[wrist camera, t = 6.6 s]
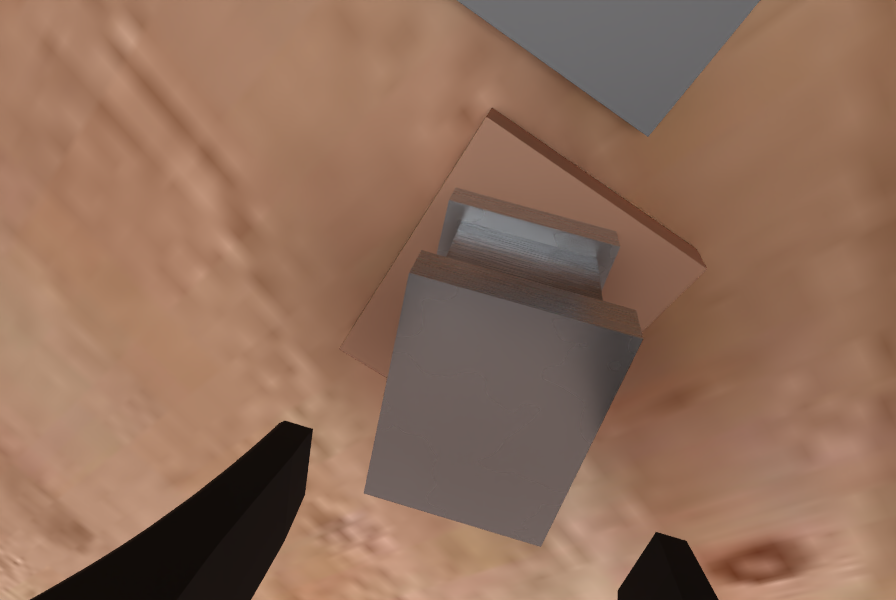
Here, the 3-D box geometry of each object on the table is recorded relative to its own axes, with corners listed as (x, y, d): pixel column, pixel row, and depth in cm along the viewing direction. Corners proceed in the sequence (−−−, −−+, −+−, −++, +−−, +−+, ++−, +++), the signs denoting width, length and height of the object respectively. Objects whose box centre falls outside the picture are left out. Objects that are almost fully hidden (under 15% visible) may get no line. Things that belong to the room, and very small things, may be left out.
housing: (616, 231, 16) (643, 338, 11) (545, 404, 20) (540, 546, 15) (455, 187, 16) (408, 272, 11) (414, 366, 20) (363, 493, 15)
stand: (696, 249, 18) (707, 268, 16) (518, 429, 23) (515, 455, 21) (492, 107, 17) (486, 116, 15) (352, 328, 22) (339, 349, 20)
